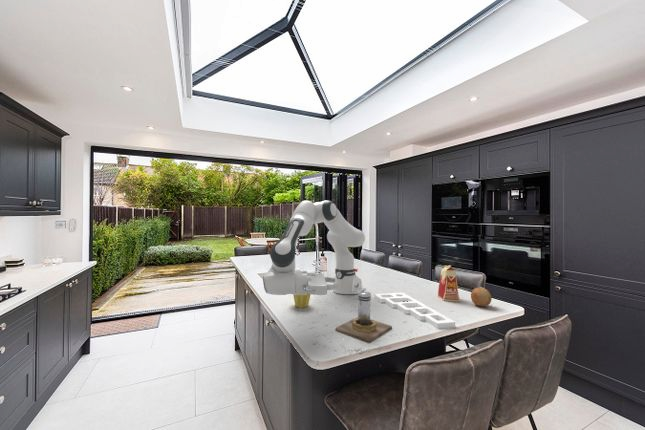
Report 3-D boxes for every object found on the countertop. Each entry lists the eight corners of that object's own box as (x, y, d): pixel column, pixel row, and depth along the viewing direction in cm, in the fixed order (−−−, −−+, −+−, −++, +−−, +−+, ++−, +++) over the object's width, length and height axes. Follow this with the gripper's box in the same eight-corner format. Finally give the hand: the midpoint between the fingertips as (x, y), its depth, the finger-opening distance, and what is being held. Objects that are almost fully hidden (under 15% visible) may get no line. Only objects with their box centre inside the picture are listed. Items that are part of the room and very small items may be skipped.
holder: (455, 328, 119) (455, 322, 119) (418, 331, 115) (418, 325, 115) (402, 297, 163) (402, 292, 163) (374, 298, 159) (374, 294, 159)
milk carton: (459, 301, 155) (460, 265, 155) (443, 301, 155) (443, 265, 155) (452, 296, 164) (453, 263, 164) (436, 296, 164) (437, 262, 164)
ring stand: (359, 318, 127) (360, 311, 127) (391, 328, 116) (392, 321, 116) (335, 330, 113) (335, 323, 113) (369, 342, 103) (369, 334, 103)
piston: (360, 323, 118) (360, 290, 118) (371, 325, 116) (372, 292, 116) (355, 327, 114) (356, 293, 114) (368, 330, 111) (368, 295, 111)
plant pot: (302, 310, 136) (302, 290, 136) (287, 305, 142) (287, 286, 142) (315, 305, 144) (316, 286, 144) (300, 301, 151) (301, 283, 151)
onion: (486, 310, 141) (487, 290, 141) (466, 305, 149) (467, 286, 149) (495, 307, 146) (495, 288, 146) (475, 302, 154) (475, 284, 154)
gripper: (303, 282, 103) (339, 282, 104) (303, 270, 123) (334, 270, 124) (302, 299, 103) (339, 298, 104) (303, 284, 123) (333, 284, 124)
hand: (336, 283), depth 114 cm, fingers open, 8 cm apart
